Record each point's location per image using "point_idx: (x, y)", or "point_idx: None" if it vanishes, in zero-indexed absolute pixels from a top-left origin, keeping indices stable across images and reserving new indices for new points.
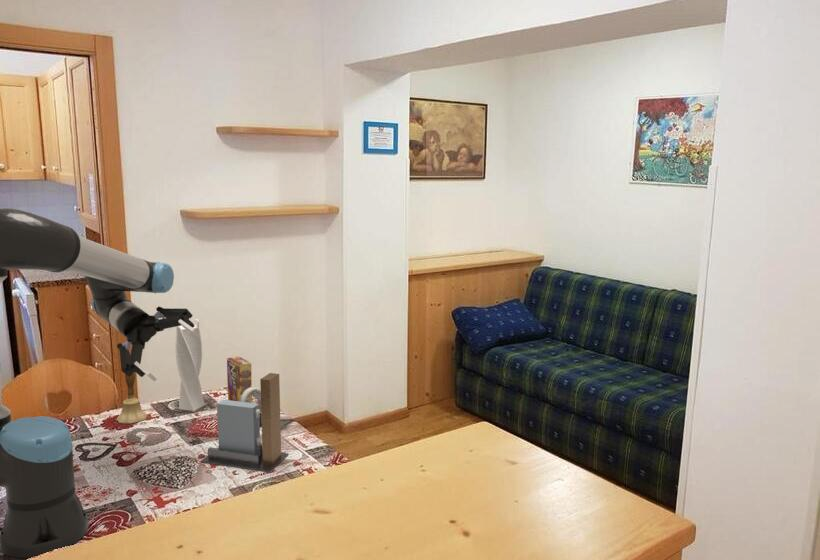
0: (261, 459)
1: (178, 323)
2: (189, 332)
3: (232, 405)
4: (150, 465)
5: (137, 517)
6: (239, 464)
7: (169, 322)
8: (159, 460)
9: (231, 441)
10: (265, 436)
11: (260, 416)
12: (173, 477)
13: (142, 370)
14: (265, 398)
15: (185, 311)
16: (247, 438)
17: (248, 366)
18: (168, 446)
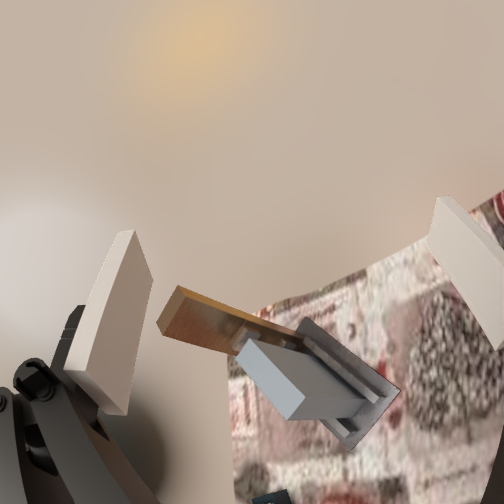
0: None
1: (108, 444)
2: None
3: (278, 369)
4: (490, 402)
5: (486, 207)
6: (340, 353)
7: (128, 489)
8: (472, 422)
9: (330, 381)
10: (273, 327)
11: (260, 496)
12: (451, 336)
13: (479, 226)
14: (216, 304)
15: (5, 391)
16: (302, 358)
17: None
18: (445, 486)
